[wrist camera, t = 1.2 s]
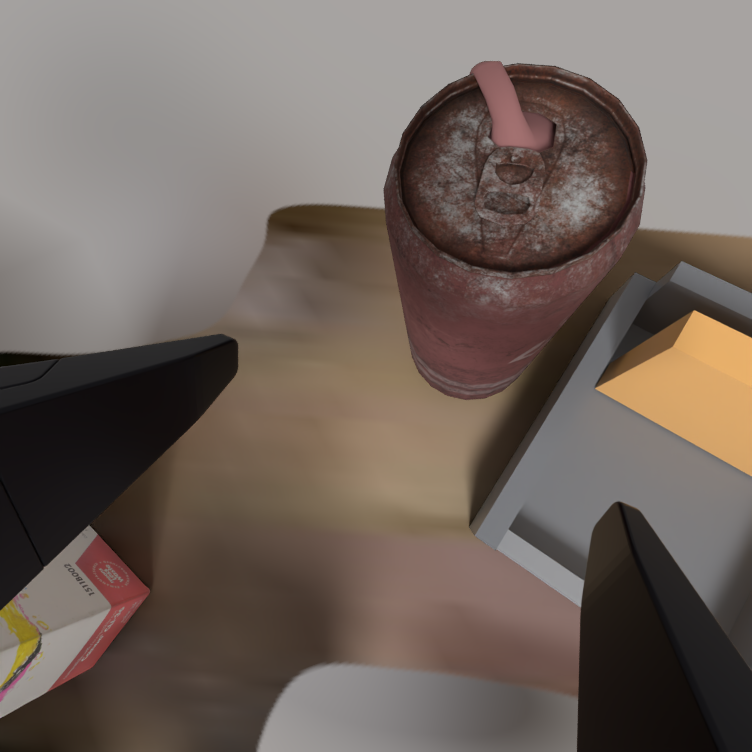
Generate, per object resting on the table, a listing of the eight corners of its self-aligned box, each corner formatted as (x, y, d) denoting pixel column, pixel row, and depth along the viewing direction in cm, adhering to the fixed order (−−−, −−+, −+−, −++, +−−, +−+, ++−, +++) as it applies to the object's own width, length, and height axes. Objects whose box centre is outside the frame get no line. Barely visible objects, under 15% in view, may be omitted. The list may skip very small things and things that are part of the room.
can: (494, 272, 23) (576, 0, 10) (546, 375, 22) (727, 215, 8) (393, 313, 24) (339, 102, 10) (437, 418, 22) (440, 330, 9)
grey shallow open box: (716, 698, 18) (820, 781, 13) (469, 527, 21) (479, 543, 16) (856, 422, 19) (995, 405, 15) (609, 298, 22) (657, 249, 17)
